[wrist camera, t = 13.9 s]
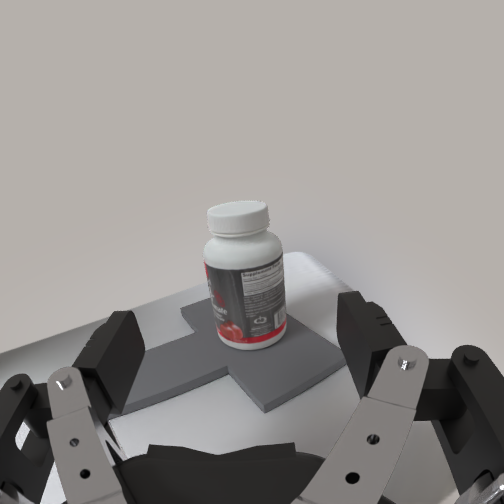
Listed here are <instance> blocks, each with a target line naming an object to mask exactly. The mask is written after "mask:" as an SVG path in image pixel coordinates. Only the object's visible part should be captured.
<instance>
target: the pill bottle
mask: <svg viewBox="0 0 504 504" xmlns="http://www.w3.org/2000/svg"><path fill="white" fill-rule="evenodd" d="M207 220H208V228H209V230H210V232H211V234H213V235H214V237H213V238H212V239H210V240H209V241H208V242H207V244H206V245H205V247H204V251H203V256H204V264H205V269H206V274H207V280H208V286H209V291H210V296H211V301H212V307H213V312H214V317H215V323H216V327H217V332H218V335H219V337H220V339H221V340H222V341H223V342H224V343H225V344H227V345H228V346H230V347H233V348H236V349H241V350H257V349H262V348H265V347H268V346H270V345H272V344H274V343H275V342H277V341H278V340H279V339H280V338H281V337H282V336H283V334H284V333H285V330H286V303H285V286H284V269H283V252H282V245H281V241H280V240H279V238H278V237H277V236H276V235H274V234H273V233H271V232H268V231H267V228H268V227H269V221H270V220H269V215H268V207H267V204H266V203H264V202H261V201H235V202H228V203H223V204H220V205H216V206H214V207H212V208H210V209H209V210H208V211H207Z"/></svg>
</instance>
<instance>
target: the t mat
mask: <svg viewBox="0 0 504 504" xmlns="http://www.w3.org/2000/svg"><path fill="white" fill-rule="evenodd" d="M180 309H181V313H182V316H183V317H184V319H185V320H186V321H187V322H188V324H189V325H190V326H191V328H192V329H193V330H194V331H195V333H193V334H190V335H188V336H185V337H182V338H180V339H177V340H174V341H172V342H169V343H166V344H163V345H161V346H158V347H155V348H152V349H149V350H147V351H145V355H144V358H143V360H142V363H141V365H140V368H139V370H138V373H137V375H136V378H135V380H134V383H133V385H132V388H131V390H130V393H129V396H128V398H127V401H126V403H125V406H124V409H123V411H122V414H121V415H124V414H127V413H130V412H133V411H136V410H139V409H142V408H144V407H147V406H150V405H153V404H155V403H158V402H161V401H164V400H166V399H169V398H171V397H174V396H177V395H179V394H182V393H184V392H187V391H189V390H192V389H194V388H196V387H199V386H201V385H204V384H206V383H208V382H211V381H213V380H215V379H218V378H220V377H222V376H224V375H227V374H230V375H231V376H232V378H233V379H234V380H235V381H236V382H237V383H238V385H239V386H240V387H241V388H242V389H243V390H244V391H245V392H246V394H247V395H248V396H249V397H250V398H251V399H252V400H253V401H254V402H255V404H256V405H257V406H258V407H259V408H260V409H261V410H262V411H263V412H264V413H266V412H268V411H270V410H272V409H273V408H275V407H277V406H279V405H281V404H282V403H284V402H286V401H288V400H289V399H291V398H293V397H295V396H296V395H298V394H300V393H301V392H303V391H305V390H306V389H308V388H310V387H311V386H313V385H314V384H316V383H318V382H319V381H321V380H322V379H324V378H326V377H327V376H329V375H330V374H332V373H333V372H335V371H336V370H338V369H339V368H341V367H342V366H344V365H345V364H347V363H346V360H345V357H344V355H343V352H342V350H341V349H340V348H338V347H337V346H335V345H334V344H332V343H330V342H329V341H327V340H326V339H324V338H323V337H321V336H320V335H318V334H317V333H315V332H314V331H312V330H311V329H309V328H308V327H306V326H305V325H303V324H302V323H300V322H299V321H297V320H296V319H294V318H293V317H291V316H290V315H288V314H287V313H286V330H285V333H284V334H283V336H282V337H281V338H280V339H279V340H278V341H277V342H275V343H274V344H272V345H270V346H268V347H265V348H262V349H257V350H241V349H236V348H233V347H230V346H228V345H227V344H225V343H224V342H223V341H222V340H221V339H220V337H219V335H218V332H217V327H216V323H215V317H214V312H213V307H212V301H211V298H208V299H205V300H202V301H200V302H197V303H194V304H191V305H188V306H185V307H182V308H180ZM121 415H116V414H109V416H108V420H109V419H112V418H115V417H118V416H121Z"/></svg>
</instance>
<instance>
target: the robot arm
mask: <svg viewBox="0 0 504 504" xmlns="http://www.w3.org/2000/svg"><path fill="white" fill-rule="evenodd" d="M336 330H337V338H338V342H339V345H340V347H341V350H342V352H343V355H344V357H345V360H346V363H347V365H348V368H349V370H350V373H351V375H352V378H353V381H354V383H355V386H356V389H357V391H358V394H359V397H360V399H361V401H360V403H359V404H358V406H357V408H356V410H355V412H354V413H353V415H352V417H351V419H350V421H349V422H348V424H347V426H346V427H345V429H344V431H343V432H342V434H341V436H340V437H339V439H338V441H337V442H336V444H335V446H334V447H333V449H332V450H331V452H330V453H329V455H328V457H327V458H326V459H325V458H322V457H320V456H316V455H313V454H308V453H301V452H296V451H295V444H294V442H293V443H284V444H274V445H262V446H254V447H251V448H247V449H243V450H239V451H235V452H230V453H226V454H221V455H215V454H210V453H206V452H201V451H197V450H193V449H189V448H185V447H179V446H163V445H151V444H149V447H148V451H147V454H143V455H139V456H135V457H132V458H129V459H128V458H127V457H126V455H125V453H124V451H123V449H122V447H121V445H120V443H119V441H118V439H117V437H116V435H115V432H114V430H113V428H112V426H111V424H110V422H109V420H108V416H109V414H116V415H121V414H122V411H123V409H124V406H125V403H126V401H127V398H128V396H129V393H130V390H131V388H132V385H133V383H134V380H135V378H136V375H137V373H138V370H139V368H140V365H141V363H142V360H143V358H144V355H145V345H144V341H143V338H142V335H141V332H140V329H139V326H138V323H137V320H136V317H135V315H134V313H133V312H132V311H114V312H113V313H112V315H111V316H110V318H109V319H108V321H107V322H106V323H104V324H103V325H101V326H100V327H99V328H98V329H96V330H95V332H94V333H93V335H92V336H91V338H90V340H89V341H88V342H87V344H86V347H84V348H83V350H82V351H81V353H80V354H79V356H78V357H77V359H76V361H75V362H74V364H73V365H72V367H65V368H62V369H59V370H57V371H56V372H54V373H53V374H52V375H51V376H50V378H49V379H48V382H47V383H41V384H33V382H32V380H31V379H30V377H29V376H28V375H26V374H17V375H15V376H13V377H11V378H10V379H8V380H7V381H6V383H5V384H4V386H3V387H2V389H1V390H0V504H40V502H41V499H42V495H43V492H44V489H45V486H46V483H47V480H48V477H49V474H50V472H51V469H52V466H53V463H54V460H55V463H56V467H57V471H58V474H59V478H60V481H61V484H62V487H63V491H64V494H65V497H66V499H67V500H66V501H65V502H63V503H62V504H396V503H394V502H392V501H391V500H389V499H388V498H386V497H384V496H383V495H382V493H383V491H384V489H385V487H386V485H387V483H388V481H389V479H390V477H391V474H392V472H393V470H394V468H395V465H396V463H397V461H398V458H399V456H400V454H401V451H402V449H403V446H404V444H405V441H406V439H407V436H408V433H409V431H410V428H411V425H412V422H413V421H430V420H431V422H432V425H433V427H434V429H435V432H436V434H437V437H438V439H439V441H440V444H441V446H442V449H443V451H444V454H445V456H446V459H447V462H448V464H449V467H450V470H451V472H452V475H453V478H454V481H455V483H456V486H457V489H458V492H459V495H460V497H459V498H458V499H457V500H456V502H455V504H504V377H503V375H502V374H501V373H500V371H499V370H498V368H497V367H496V366H495V364H494V363H493V362H492V361H491V359H490V358H489V356H488V355H487V354H486V353H485V352H484V351H483V350H482V349H480V348H478V347H476V346H472V345H463V346H459V347H458V348H456V349H455V350H454V351H453V353H452V356H451V359H429V358H428V356H427V355H426V353H425V352H424V351H422V350H421V349H419V348H417V347H414V346H409V345H407V344H406V342H405V341H404V339H403V338H402V336H401V335H400V333H399V332H398V330H397V329H396V327H395V326H394V324H392V321H391V320H390V318H389V317H388V316H387V314H386V313H385V311H384V310H383V308H382V307H380V306H378V305H377V304H375V303H374V302H365V300H364V298H363V297H362V296H361V294H360V292H359V291H352V292H345V293H339V295H338V306H337V326H336ZM23 421H24V422H25V424H26V425H27V426H28V427H29V429H30V431H29V433H28V435H27V438H26V440H25V442H24V444H23V446H22V449H21V451H20V450H19V449H18V447H17V445H16V442H15V437H16V434H17V432H18V430H19V428H20V426H21V424H22V422H23Z"/></svg>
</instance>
